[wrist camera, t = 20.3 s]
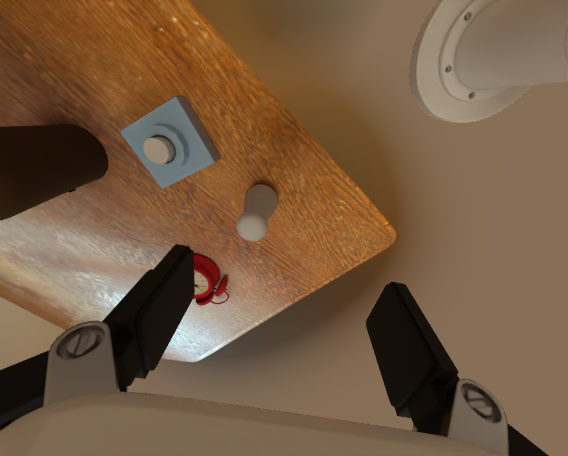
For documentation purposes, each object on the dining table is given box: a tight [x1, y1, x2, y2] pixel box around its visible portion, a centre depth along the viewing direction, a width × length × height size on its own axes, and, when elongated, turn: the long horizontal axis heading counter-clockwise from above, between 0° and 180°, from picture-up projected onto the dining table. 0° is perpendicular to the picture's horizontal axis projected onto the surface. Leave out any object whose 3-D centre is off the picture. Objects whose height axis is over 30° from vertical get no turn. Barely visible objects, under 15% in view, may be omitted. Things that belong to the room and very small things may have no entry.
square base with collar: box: [120, 96, 221, 189], centre depth 35 cm, size 11×10×5 cm
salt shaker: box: [236, 185, 278, 241], centre depth 35 cm, size 6×6×13 cm
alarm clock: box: [193, 254, 229, 305], centre depth 49 cm, size 10×6×15 cm
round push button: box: [143, 136, 175, 164], centre depth 32 cm, size 4×4×2 cm
